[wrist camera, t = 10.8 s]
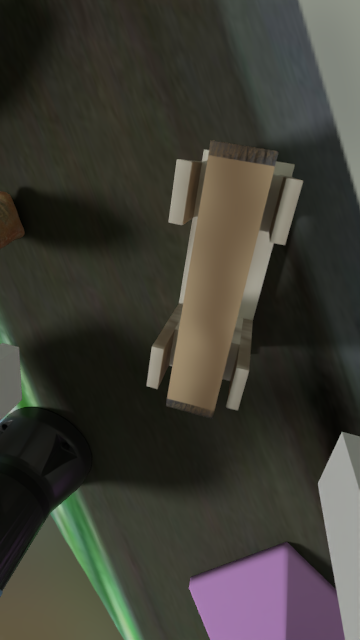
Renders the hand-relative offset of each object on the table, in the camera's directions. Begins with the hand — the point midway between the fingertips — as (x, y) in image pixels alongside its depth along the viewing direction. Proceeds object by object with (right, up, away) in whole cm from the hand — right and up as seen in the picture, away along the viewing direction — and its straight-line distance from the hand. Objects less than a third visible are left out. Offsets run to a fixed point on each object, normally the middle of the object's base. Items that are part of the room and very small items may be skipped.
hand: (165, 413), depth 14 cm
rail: (+4, +7, +15) cm, 17 cm away
